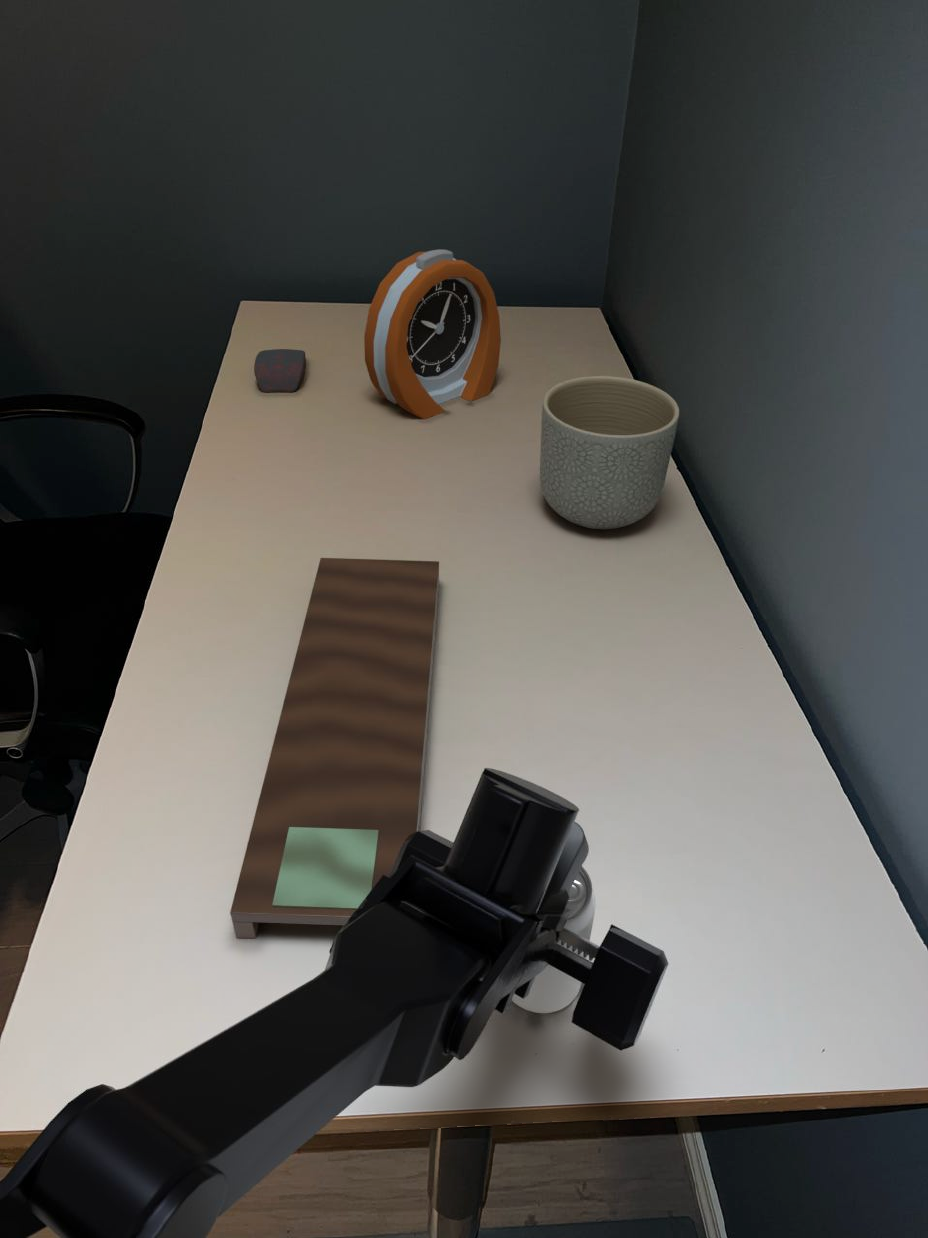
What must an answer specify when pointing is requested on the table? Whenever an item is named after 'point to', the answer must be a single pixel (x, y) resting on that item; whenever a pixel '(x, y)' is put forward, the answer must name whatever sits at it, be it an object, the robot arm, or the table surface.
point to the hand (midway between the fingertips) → (551, 916)
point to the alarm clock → (432, 333)
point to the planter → (605, 449)
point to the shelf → (344, 747)
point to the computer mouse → (279, 369)
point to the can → (553, 984)
